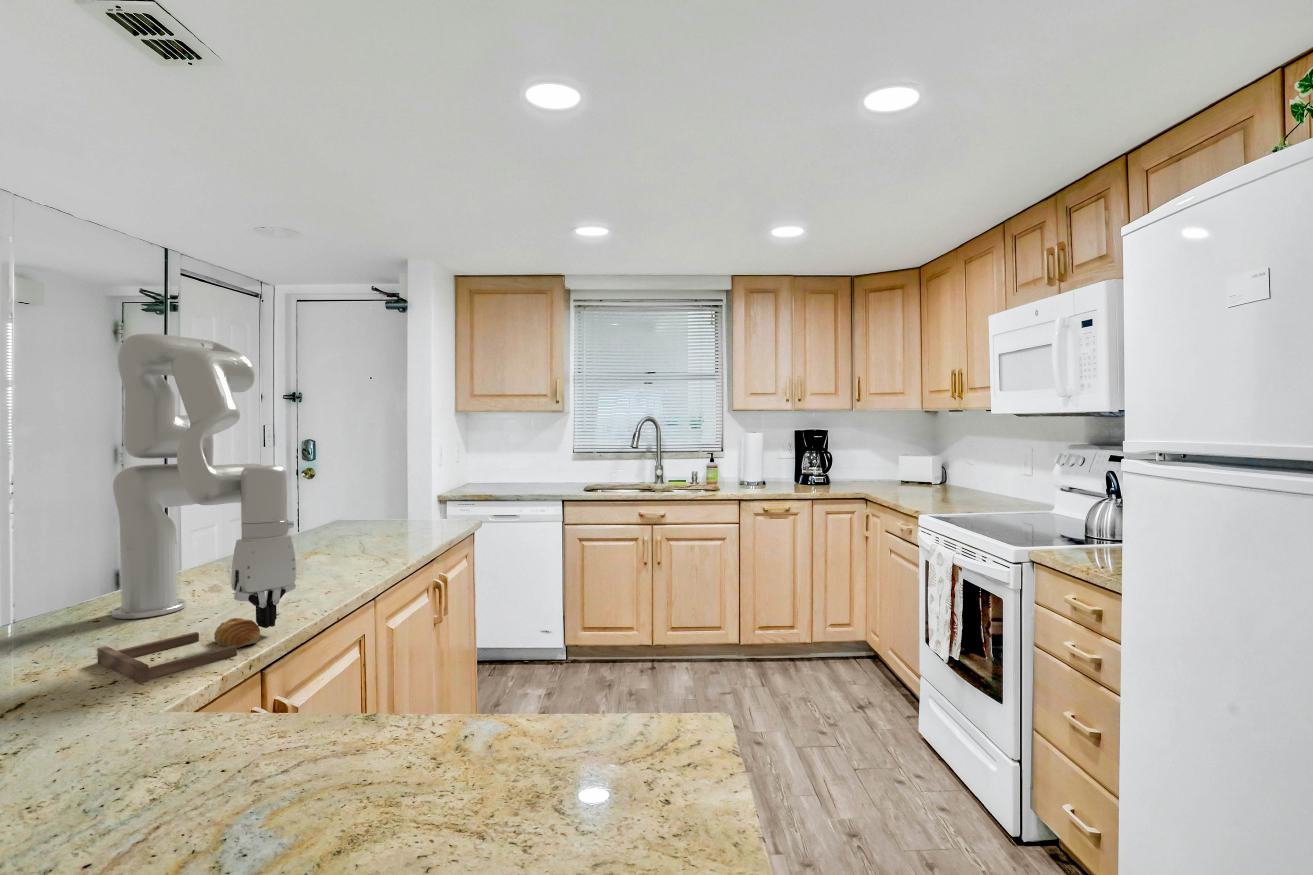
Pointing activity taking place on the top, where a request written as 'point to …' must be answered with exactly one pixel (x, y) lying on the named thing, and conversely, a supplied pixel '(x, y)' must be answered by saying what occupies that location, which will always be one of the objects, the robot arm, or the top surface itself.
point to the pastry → (237, 633)
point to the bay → (139, 670)
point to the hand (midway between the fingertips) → (266, 625)
